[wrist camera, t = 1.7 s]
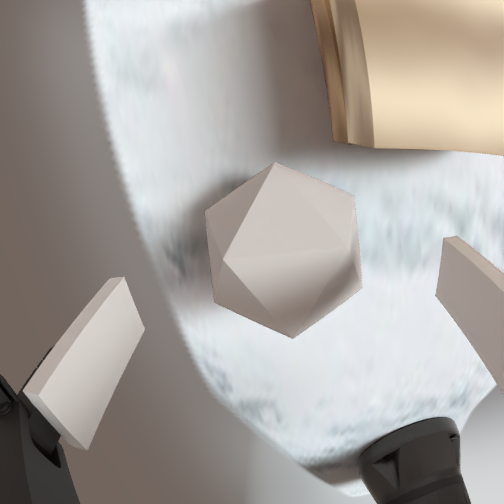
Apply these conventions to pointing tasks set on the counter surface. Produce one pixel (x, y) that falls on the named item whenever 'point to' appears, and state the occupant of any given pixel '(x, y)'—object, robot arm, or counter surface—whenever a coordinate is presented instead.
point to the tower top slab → (423, 73)
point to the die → (284, 249)
